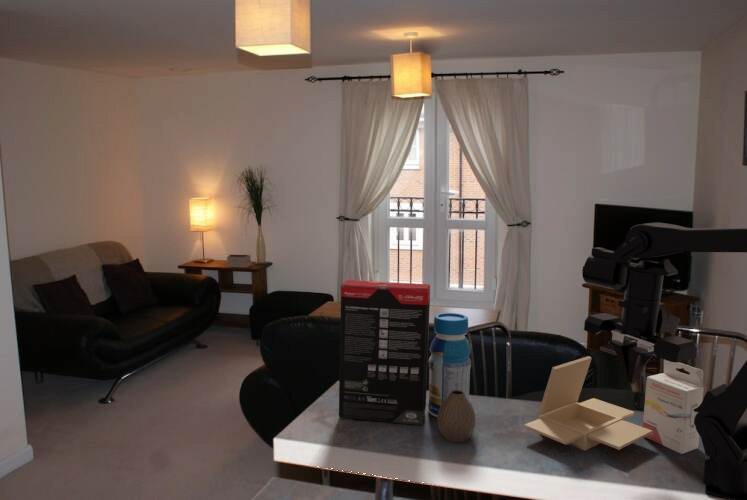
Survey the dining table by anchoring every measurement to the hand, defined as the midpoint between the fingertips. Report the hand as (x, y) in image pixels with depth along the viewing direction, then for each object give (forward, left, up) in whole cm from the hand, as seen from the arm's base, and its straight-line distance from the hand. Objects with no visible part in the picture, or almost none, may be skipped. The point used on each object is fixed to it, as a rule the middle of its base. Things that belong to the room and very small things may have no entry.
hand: (631, 382), depth 111 cm
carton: (+6, -2, -13) cm, 14 cm away
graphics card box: (+44, +10, -13) cm, 47 cm away
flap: (+13, -5, -9) cm, 17 cm away
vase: (+28, +11, -13) cm, 33 cm away
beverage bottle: (+34, +1, -13) cm, 36 cm away
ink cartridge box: (-6, -8, -13) cm, 16 cm away
